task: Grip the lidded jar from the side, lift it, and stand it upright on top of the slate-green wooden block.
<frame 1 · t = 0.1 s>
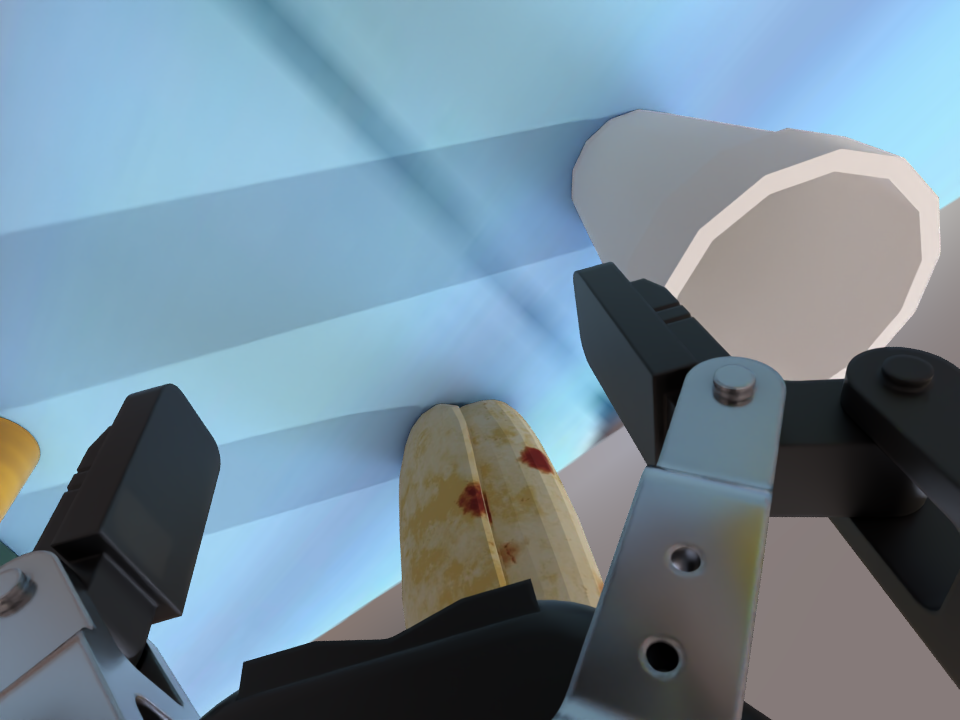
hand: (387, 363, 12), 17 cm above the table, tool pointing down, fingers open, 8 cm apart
food model: (458, 427, 36), on the table
foam cup: (630, 176, 29), on the table
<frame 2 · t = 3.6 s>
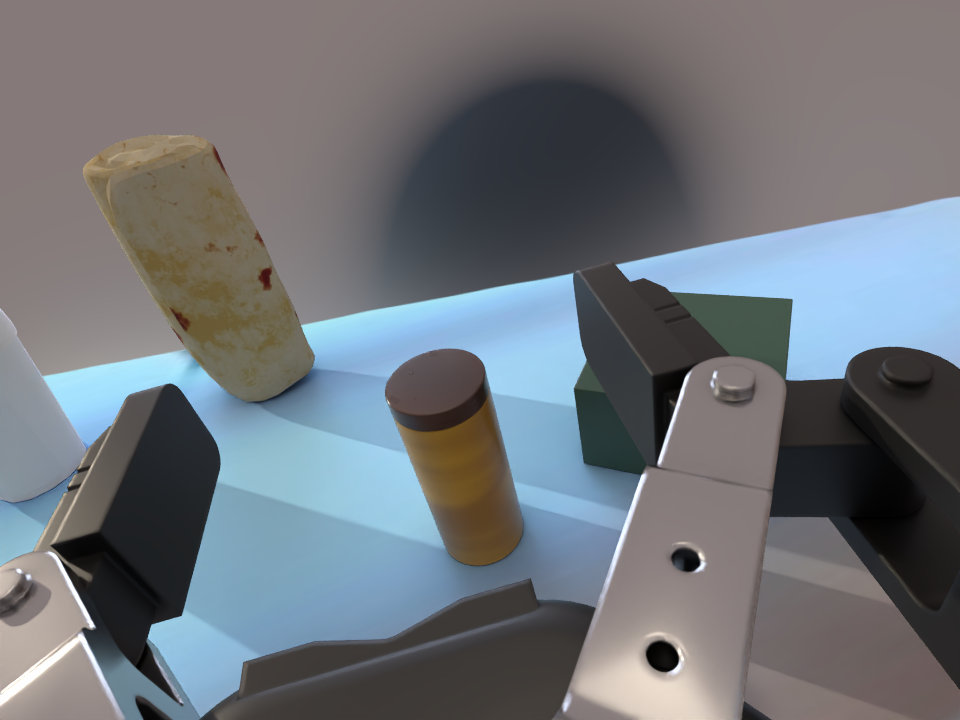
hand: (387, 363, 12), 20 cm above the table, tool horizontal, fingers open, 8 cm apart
block: (685, 419, 36), on the table
lidded jar: (482, 529, 32), on the table
food model: (267, 384, 48), on the table
foam cup: (45, 471, 45), on the table
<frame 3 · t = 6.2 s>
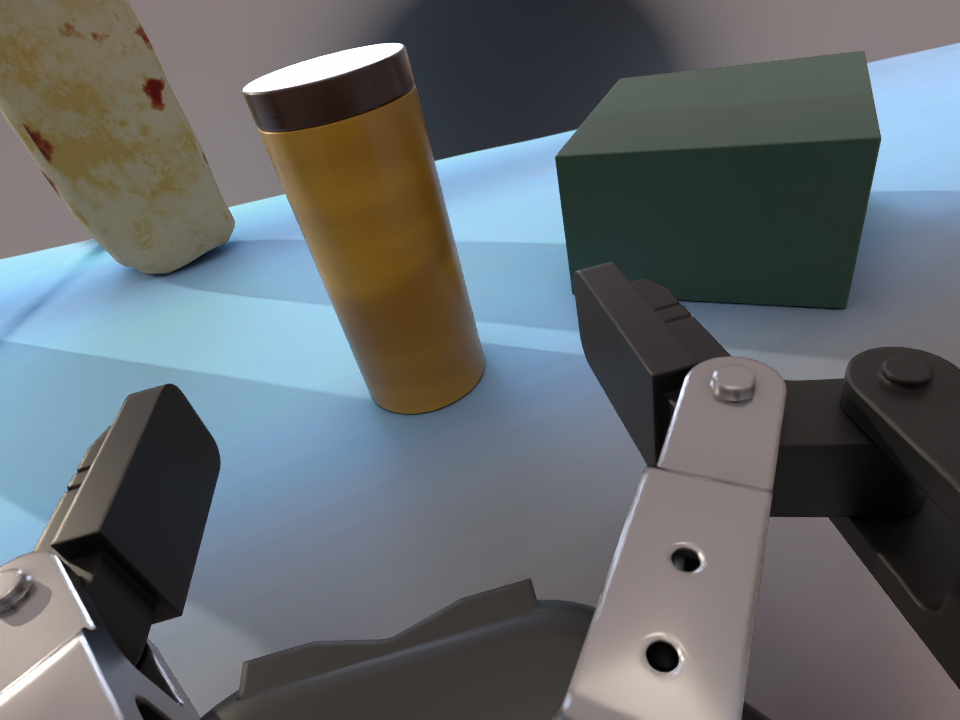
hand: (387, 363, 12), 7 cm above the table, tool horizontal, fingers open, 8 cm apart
block: (712, 240, 26), on the table
lidded jar: (426, 373, 22), on the table
food model: (177, 260, 38), on the table
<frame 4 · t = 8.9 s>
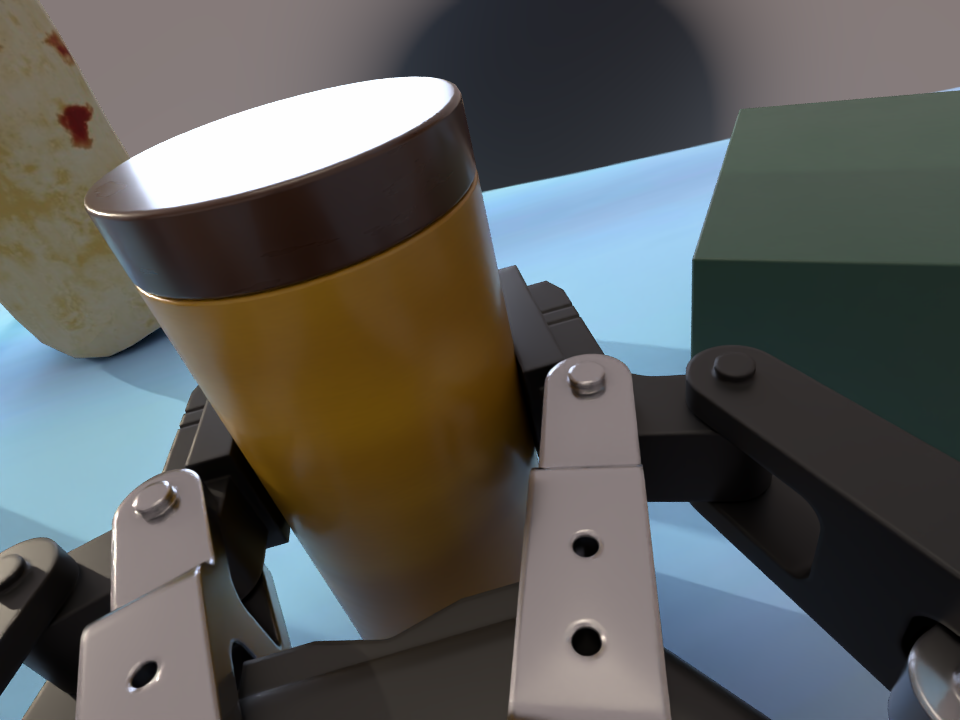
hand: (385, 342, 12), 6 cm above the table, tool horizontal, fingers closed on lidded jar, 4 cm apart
block: (894, 358, 17), on the table
lidded jar: (468, 607, 14), on the table, touching gripper
food model: (124, 333, 30), on the table
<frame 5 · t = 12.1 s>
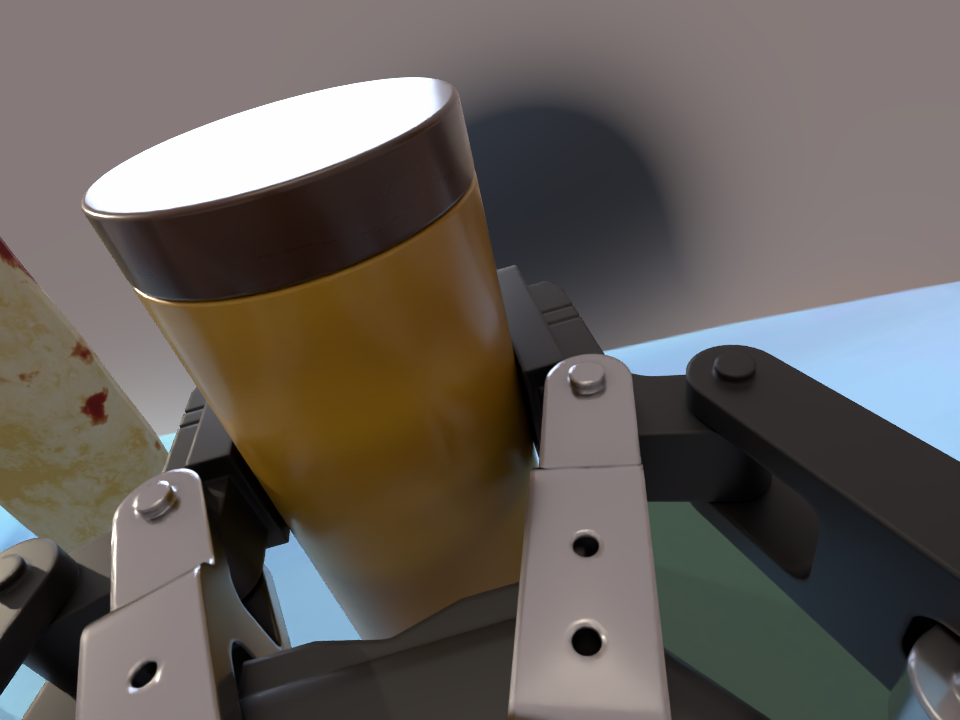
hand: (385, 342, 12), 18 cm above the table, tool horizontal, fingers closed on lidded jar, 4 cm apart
block: (714, 652, 23), on the table
lidded jar: (468, 607, 14), point 12 cm above the table, touching gripper
food model: (132, 527, 35), on the table
when the fingers open (12 cm above the table, at t = 15.3 s): lidded jar stays where it is, resting on block.
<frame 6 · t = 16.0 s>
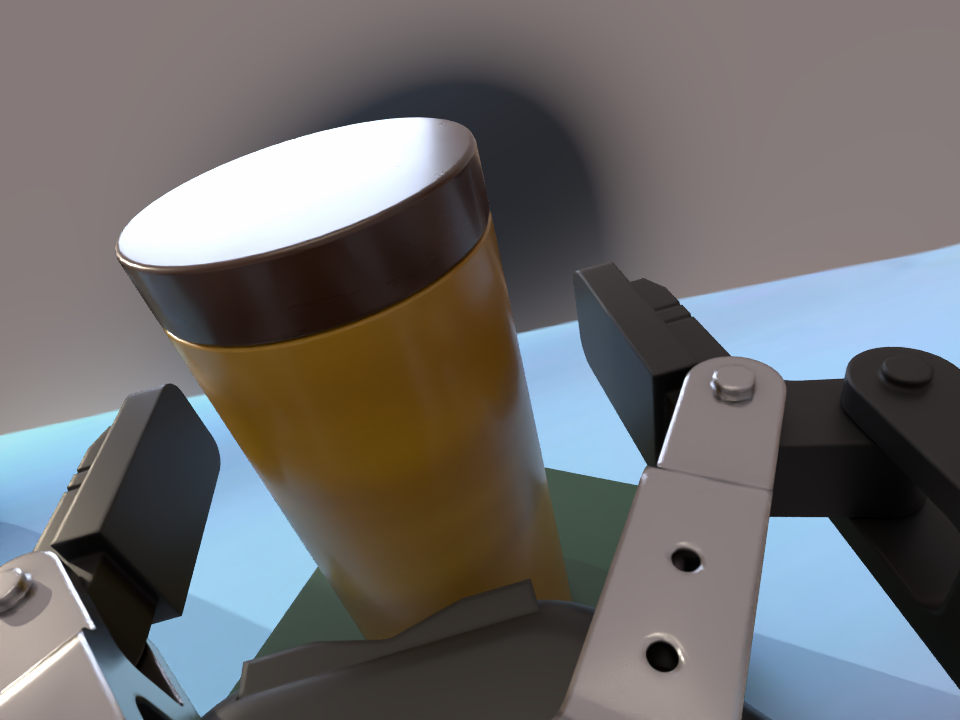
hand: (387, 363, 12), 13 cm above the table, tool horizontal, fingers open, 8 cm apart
lidded jar: (478, 621, 14), point 6 cm above the table, touching block
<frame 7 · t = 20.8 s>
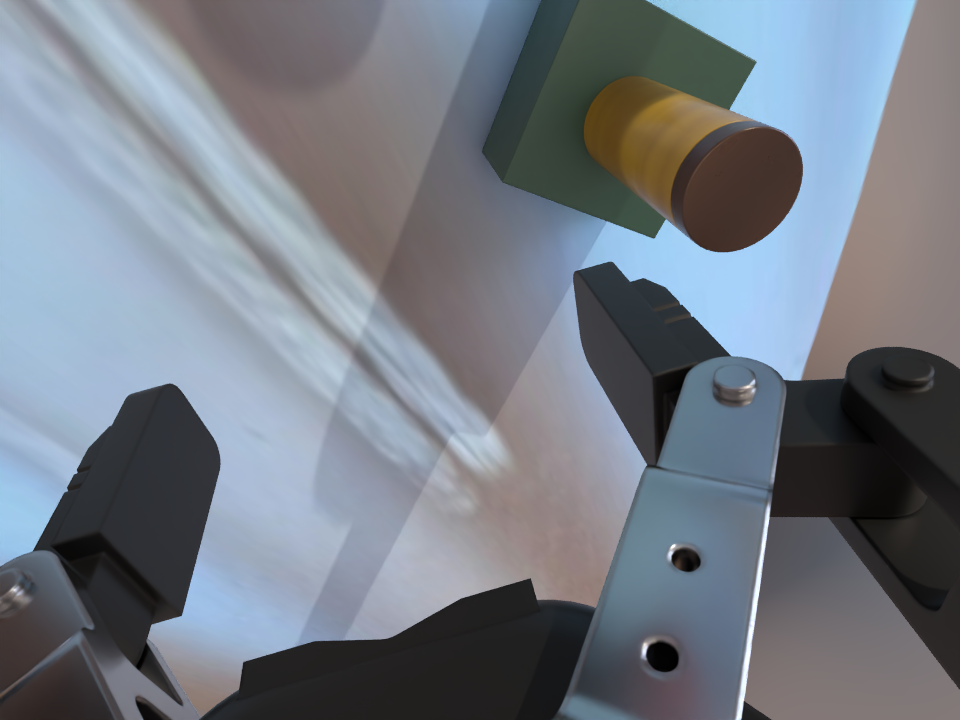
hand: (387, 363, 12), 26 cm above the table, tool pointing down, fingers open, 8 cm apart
block: (588, 100, 35), on the table, touching lidded jar
lidded jar: (626, 124, 30), point 6 cm above the table, touching block
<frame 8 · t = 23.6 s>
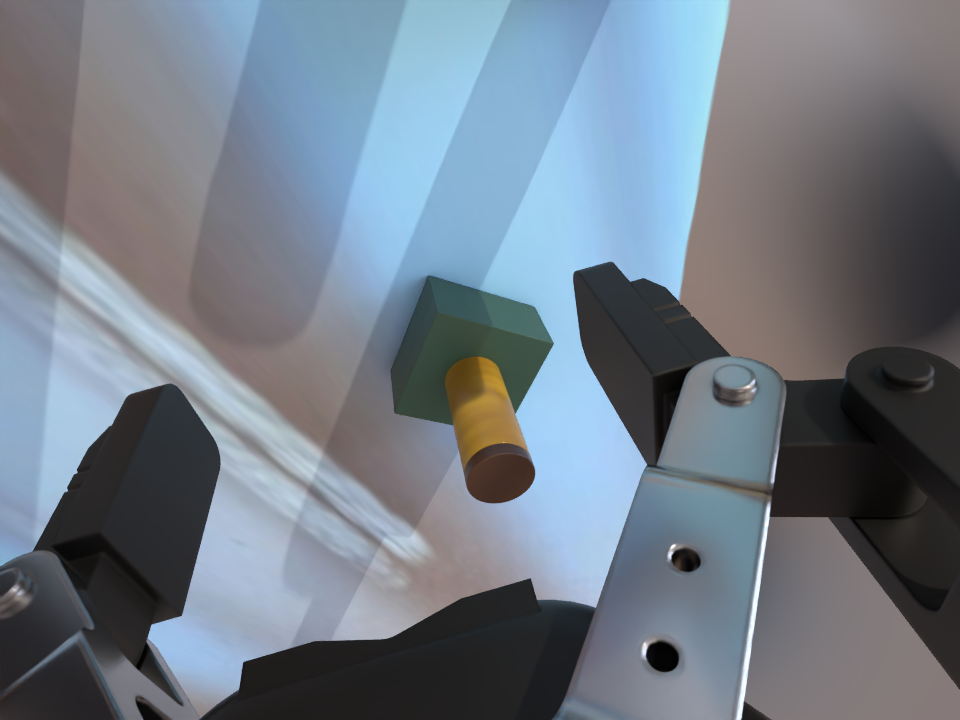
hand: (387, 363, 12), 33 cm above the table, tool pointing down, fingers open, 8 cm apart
block: (461, 339, 51), on the table, touching lidded jar
lidded jar: (472, 379, 46), point 6 cm above the table, touching block
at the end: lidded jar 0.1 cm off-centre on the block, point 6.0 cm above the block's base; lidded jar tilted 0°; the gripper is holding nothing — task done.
